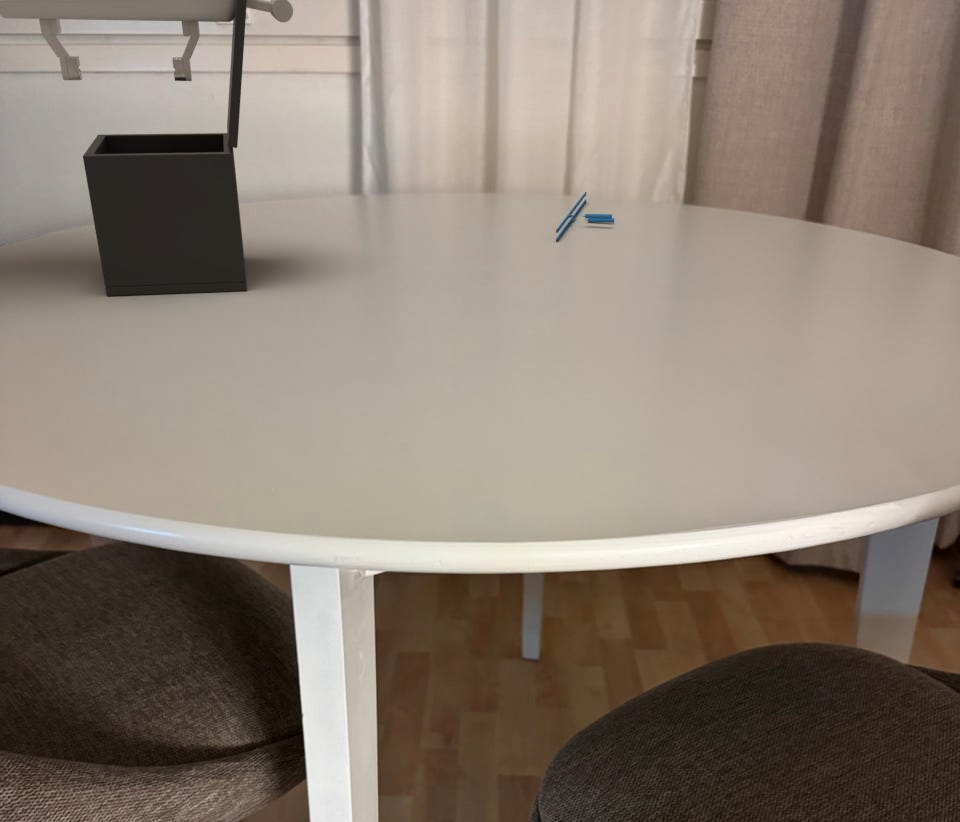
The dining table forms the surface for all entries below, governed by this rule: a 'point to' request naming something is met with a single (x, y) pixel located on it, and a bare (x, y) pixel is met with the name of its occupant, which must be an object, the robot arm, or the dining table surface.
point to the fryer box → (166, 213)
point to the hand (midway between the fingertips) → (128, 80)
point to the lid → (280, 12)
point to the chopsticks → (591, 217)
